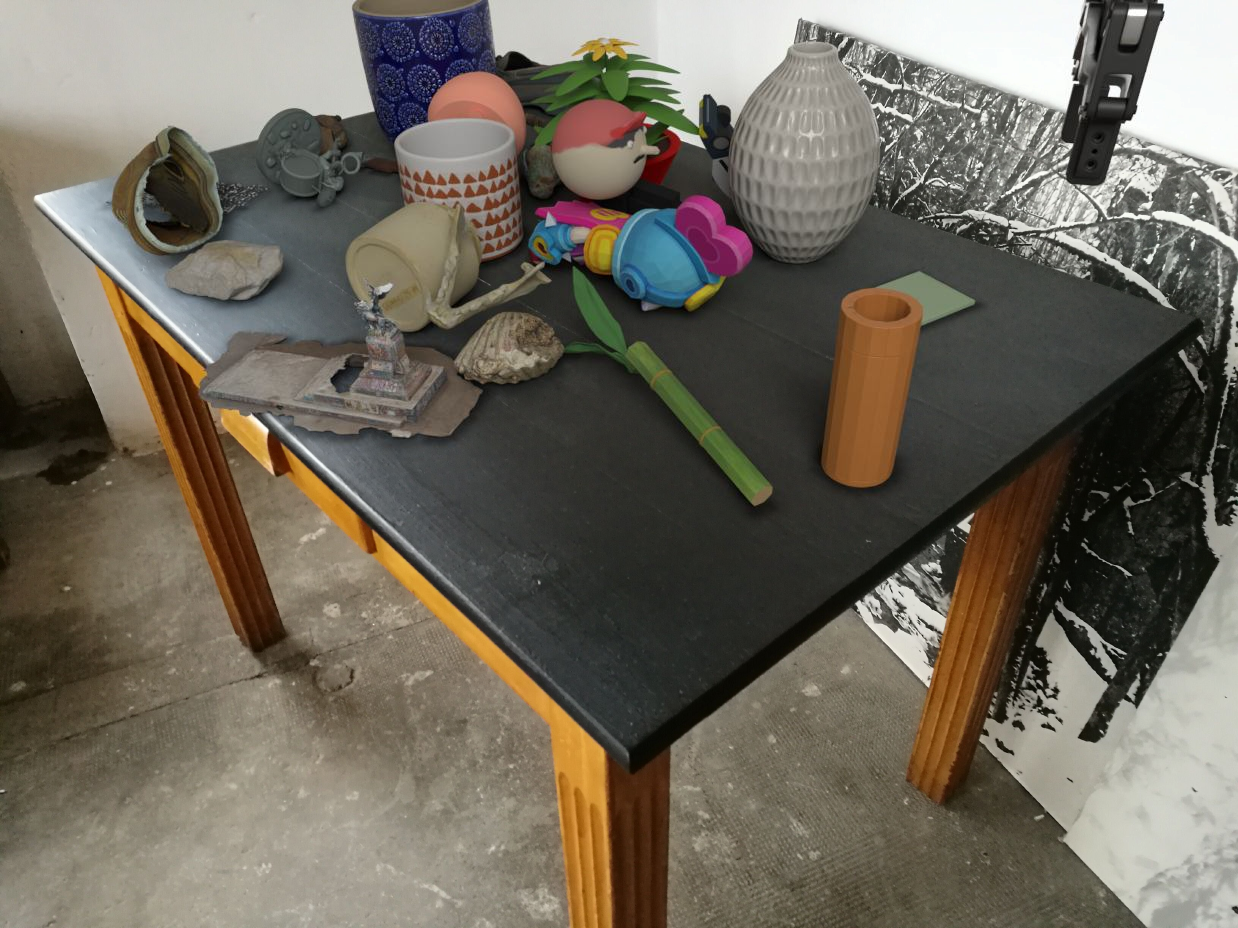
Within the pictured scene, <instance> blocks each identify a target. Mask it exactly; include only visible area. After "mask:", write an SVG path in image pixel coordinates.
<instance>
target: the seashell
mask: <svg viewBox="0 0 1238 928" xmlns="http://www.w3.org/2000/svg"><path fill="white" fill-rule="evenodd" d="M564 347H565V346H564V345H563V344H562V342H561V339H560V338H558V336H555V331H554V328H553V327H552V326H549V324H548V322H544V321H543V319H541V317H538V316H536V315H534V314H530V313H528V312H521V311H519V312H518V311H502V312H500V313H497V314H495V315H493V316H492V317H490V318H489V319H487V321H486V322H485V323H483V325H482V326H481V327H479V329H477V330H476V332H475V333H473V335H472V336H471V337H470V338H469V340H468V341H467V342H466V344H465V346H463V348H462V349H461V350H460V352H459V353H458V355H457V356H456V358H455V359H454V364H455V369H456V370H457V371H458V373H459V374H463V377H464V379H465V380H467V381H476V382H479V383H480V384H481V385H484V384H486V383H496V384H499V385H504V384H507V383H509V384H518V383H519V382H520V381H530V380H531V379H534V378H535V379H536V378H539V377H541V376H542V375H543V374H547V373H549V370H550V369H551V368H552V369H553V368H554V367H555V366H556V364H557V363H558V360H560V359H561V357H563V354H564V353H563V351H564Z"/></svg>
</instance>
